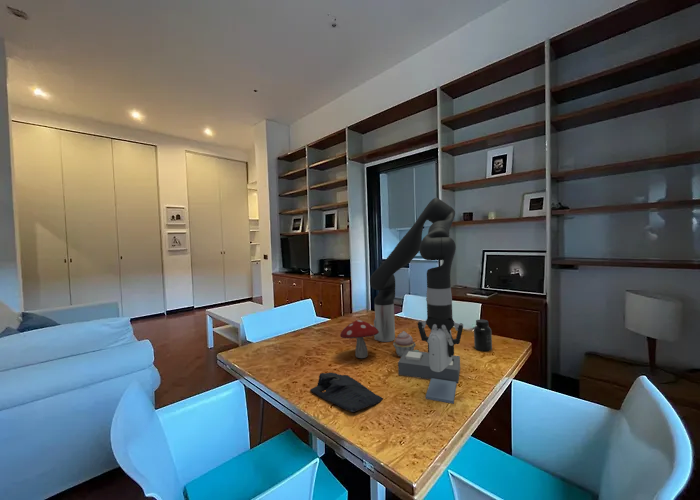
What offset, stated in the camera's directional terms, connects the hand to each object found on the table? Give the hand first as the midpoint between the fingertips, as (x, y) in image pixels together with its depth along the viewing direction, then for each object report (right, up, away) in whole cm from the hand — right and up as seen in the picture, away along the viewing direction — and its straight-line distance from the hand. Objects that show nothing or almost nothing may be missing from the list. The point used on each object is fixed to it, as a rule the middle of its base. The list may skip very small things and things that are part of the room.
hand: (440, 354), depth 92 cm
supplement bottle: (+28, -9, +32) cm, 44 cm away
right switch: (+5, -9, +12) cm, 16 cm away
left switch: (-5, -8, +16) cm, 19 cm away
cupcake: (-6, -11, +30) cm, 32 cm away
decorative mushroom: (-24, -12, +30) cm, 40 cm away
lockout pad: (0, -12, 0) cm, 12 cm away
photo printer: (0, -4, 0) cm, 4 cm away
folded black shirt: (-30, -14, +1) cm, 33 cm away
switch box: (0, -11, +14) cm, 18 cm away
